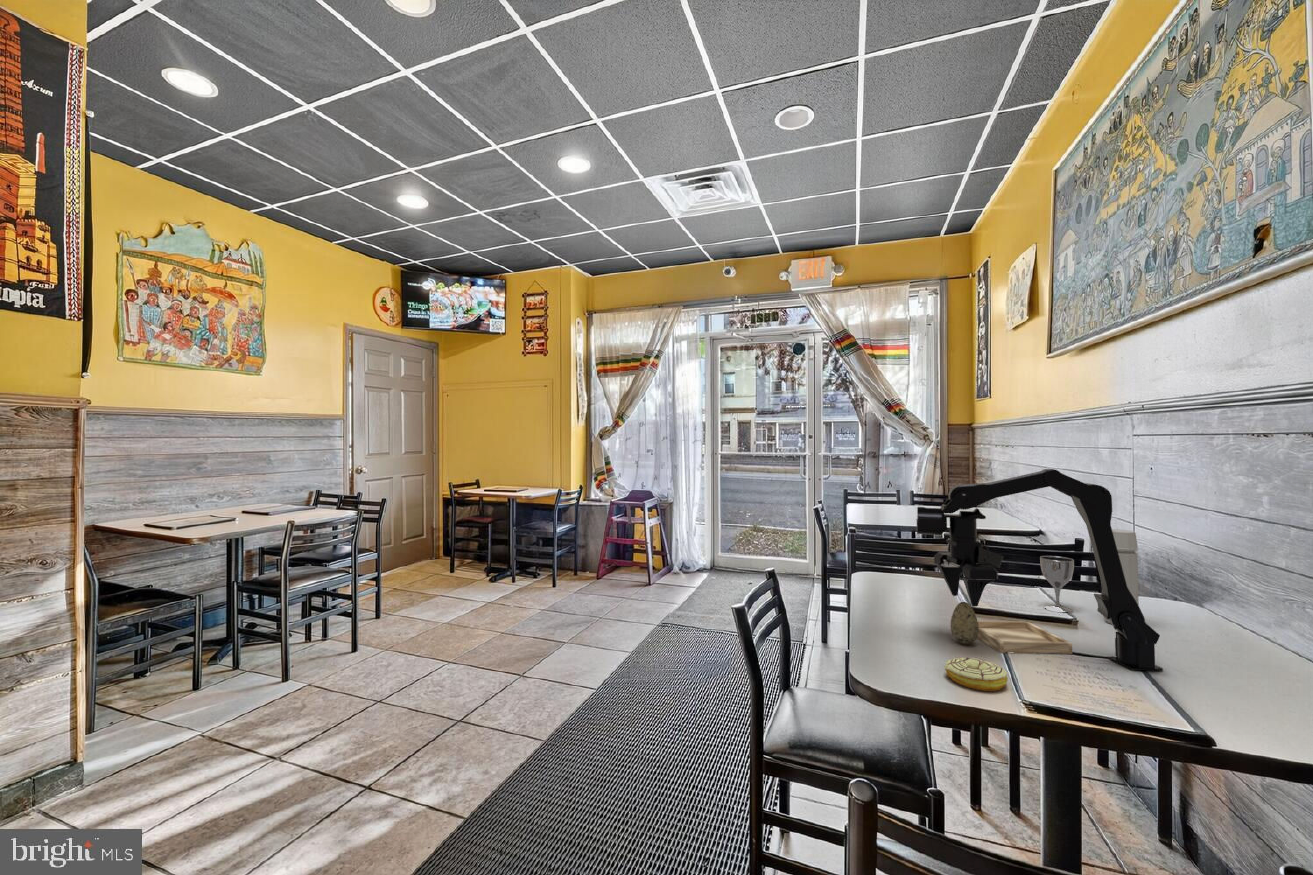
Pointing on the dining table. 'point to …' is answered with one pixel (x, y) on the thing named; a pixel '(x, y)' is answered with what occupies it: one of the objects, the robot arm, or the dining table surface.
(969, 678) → the decorated donut
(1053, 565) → the wine glass
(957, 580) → the robot arm
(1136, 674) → the dining table surface
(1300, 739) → the dining table surface
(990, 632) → the wooden tray
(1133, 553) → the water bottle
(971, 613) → the decorative egg
